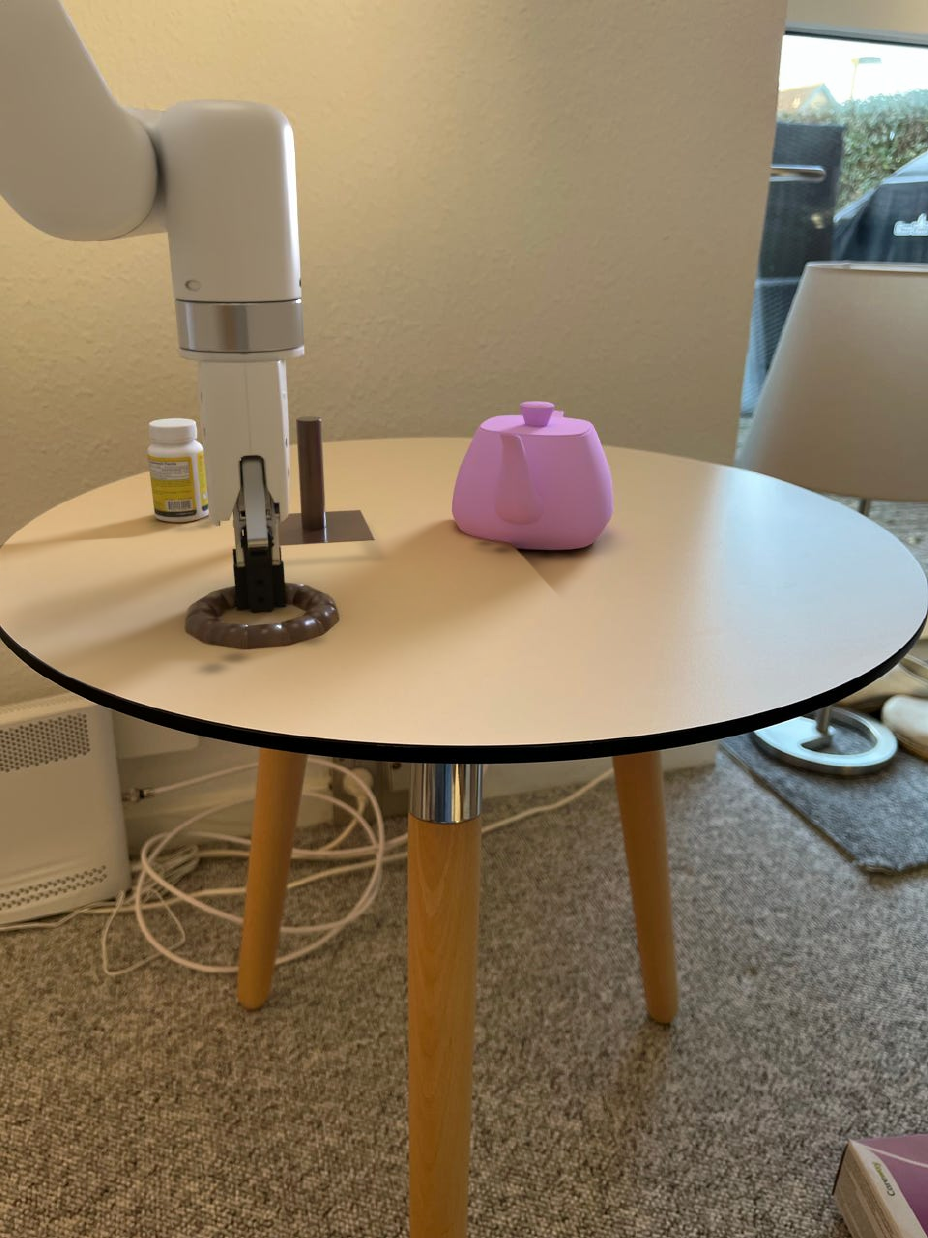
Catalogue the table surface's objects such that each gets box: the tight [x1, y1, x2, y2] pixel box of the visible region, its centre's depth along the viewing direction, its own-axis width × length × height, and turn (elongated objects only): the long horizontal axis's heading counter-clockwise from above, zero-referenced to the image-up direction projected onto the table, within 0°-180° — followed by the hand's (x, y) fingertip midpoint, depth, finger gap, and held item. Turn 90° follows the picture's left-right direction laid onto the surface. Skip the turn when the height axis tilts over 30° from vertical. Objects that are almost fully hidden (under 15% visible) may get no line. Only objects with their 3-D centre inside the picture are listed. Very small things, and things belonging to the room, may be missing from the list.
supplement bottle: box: [146, 417, 209, 523], centre depth 86 cm, size 5×5×8 cm
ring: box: [184, 582, 340, 650], centre depth 63 cm, size 10×10×2 cm
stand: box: [267, 415, 376, 547], centre depth 80 cm, size 9×9×10 cm
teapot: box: [451, 400, 614, 551], centre depth 81 cm, size 13×20×11 cm
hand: (261, 609), depth 67 cm, fingers closed on ring, 2 cm apart
